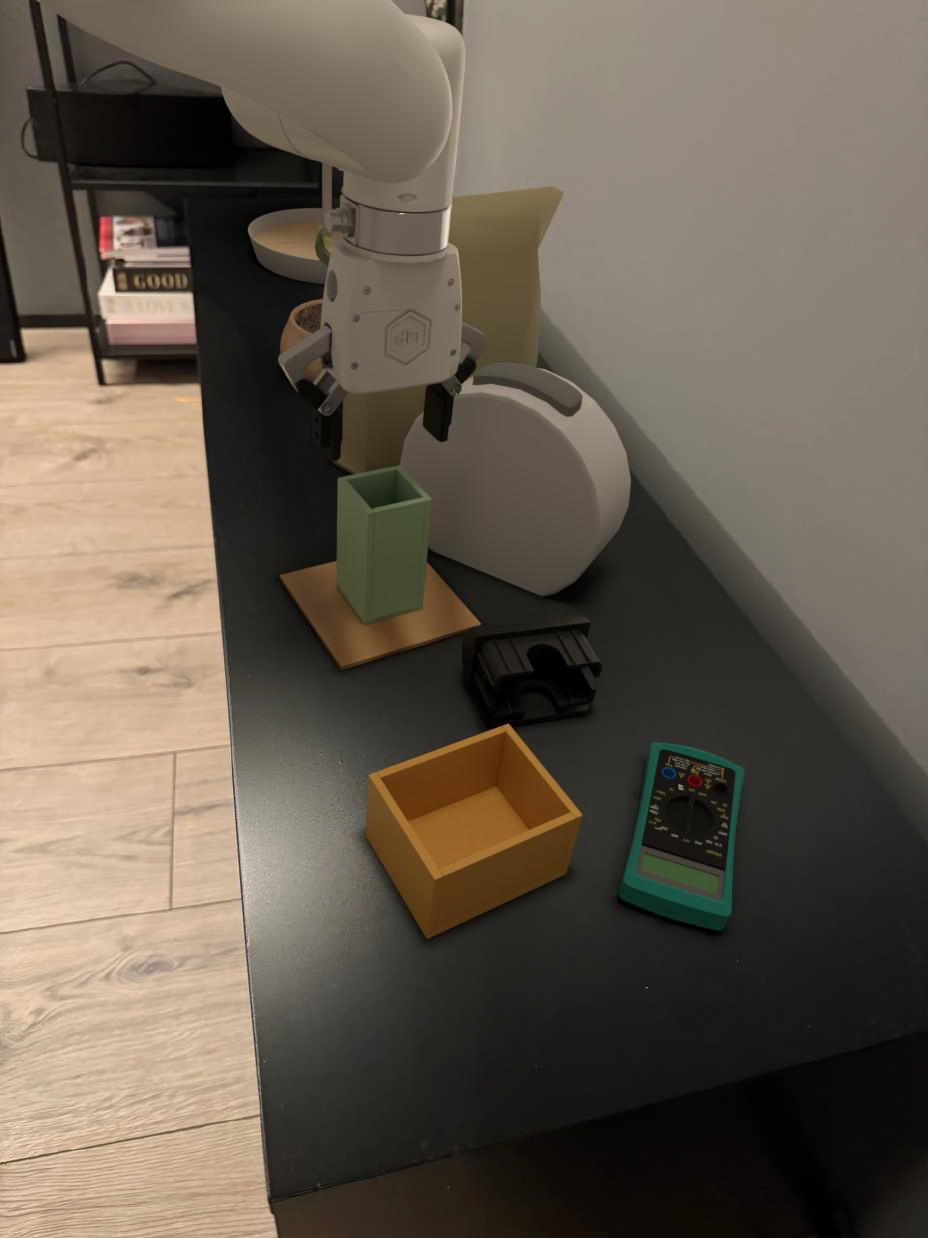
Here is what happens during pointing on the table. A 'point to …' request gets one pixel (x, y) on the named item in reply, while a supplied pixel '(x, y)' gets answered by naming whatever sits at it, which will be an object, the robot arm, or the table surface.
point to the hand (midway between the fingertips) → (382, 443)
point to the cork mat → (382, 638)
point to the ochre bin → (469, 827)
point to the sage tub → (382, 543)
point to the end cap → (530, 670)
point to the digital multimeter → (685, 836)
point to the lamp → (304, 220)
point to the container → (467, 313)
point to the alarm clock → (522, 478)
